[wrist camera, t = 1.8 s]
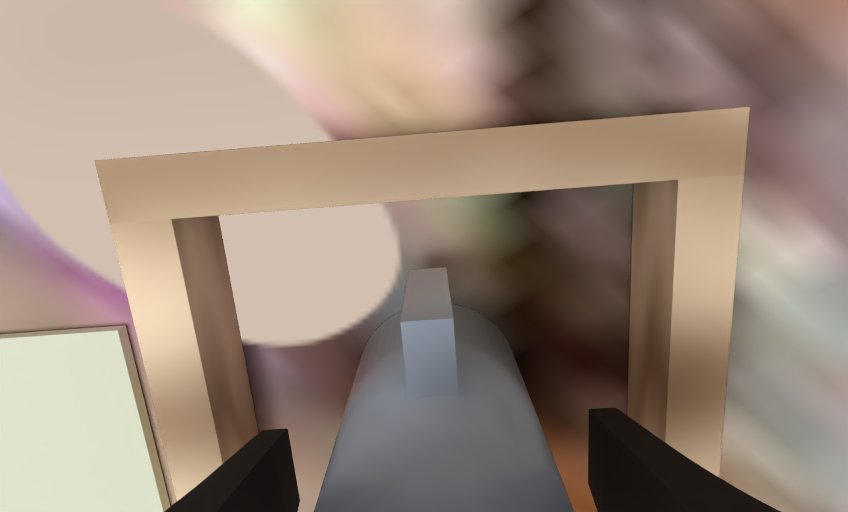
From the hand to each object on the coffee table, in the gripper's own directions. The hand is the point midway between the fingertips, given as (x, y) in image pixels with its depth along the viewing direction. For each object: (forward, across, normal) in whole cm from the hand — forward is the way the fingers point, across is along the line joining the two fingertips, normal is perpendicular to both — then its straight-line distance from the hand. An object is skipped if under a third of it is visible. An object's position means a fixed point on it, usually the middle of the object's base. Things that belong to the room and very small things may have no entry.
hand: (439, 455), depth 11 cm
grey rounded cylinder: (+4, 0, 0) cm, 4 cm away
